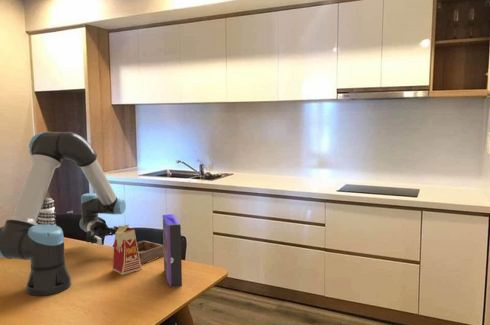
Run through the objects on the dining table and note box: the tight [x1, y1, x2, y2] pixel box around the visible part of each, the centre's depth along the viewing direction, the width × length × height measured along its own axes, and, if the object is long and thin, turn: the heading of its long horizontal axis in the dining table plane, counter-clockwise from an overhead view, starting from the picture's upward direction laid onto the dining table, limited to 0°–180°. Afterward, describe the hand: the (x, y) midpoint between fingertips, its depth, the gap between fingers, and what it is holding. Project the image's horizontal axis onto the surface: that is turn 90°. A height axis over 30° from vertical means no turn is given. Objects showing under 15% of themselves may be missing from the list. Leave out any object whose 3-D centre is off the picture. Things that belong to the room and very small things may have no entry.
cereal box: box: [162, 213, 183, 288], centre depth 160 cm, size 17×5×24 cm, turn 18°
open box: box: [137, 240, 164, 265], centre depth 184 cm, size 14×14×5 cm
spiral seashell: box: [36, 197, 57, 226], centre depth 197 cm, size 9×9×25 cm
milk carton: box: [112, 224, 143, 276], centre depth 169 cm, size 9×9×20 cm
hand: (116, 239), depth 176 cm, fingers open, 13 cm apart
